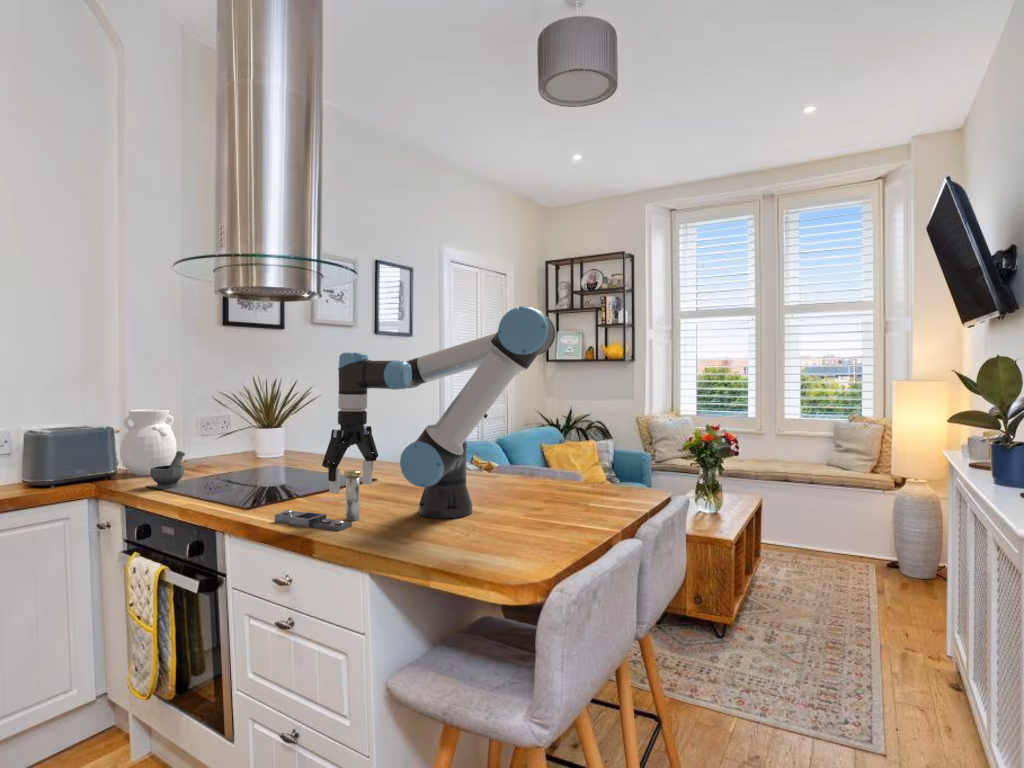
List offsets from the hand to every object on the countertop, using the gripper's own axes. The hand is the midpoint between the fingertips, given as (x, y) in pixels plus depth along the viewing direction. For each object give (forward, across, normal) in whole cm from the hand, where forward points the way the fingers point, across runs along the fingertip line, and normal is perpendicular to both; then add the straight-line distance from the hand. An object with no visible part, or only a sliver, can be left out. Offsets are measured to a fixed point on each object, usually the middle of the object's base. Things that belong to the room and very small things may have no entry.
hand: (351, 488), depth 152 cm
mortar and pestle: (+10, -10, -86) cm, 87 cm away
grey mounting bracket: (+8, +8, -6) cm, 13 cm away
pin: (+8, 0, 0) cm, 8 cm away
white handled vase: (+10, -24, -116) cm, 119 cm away
